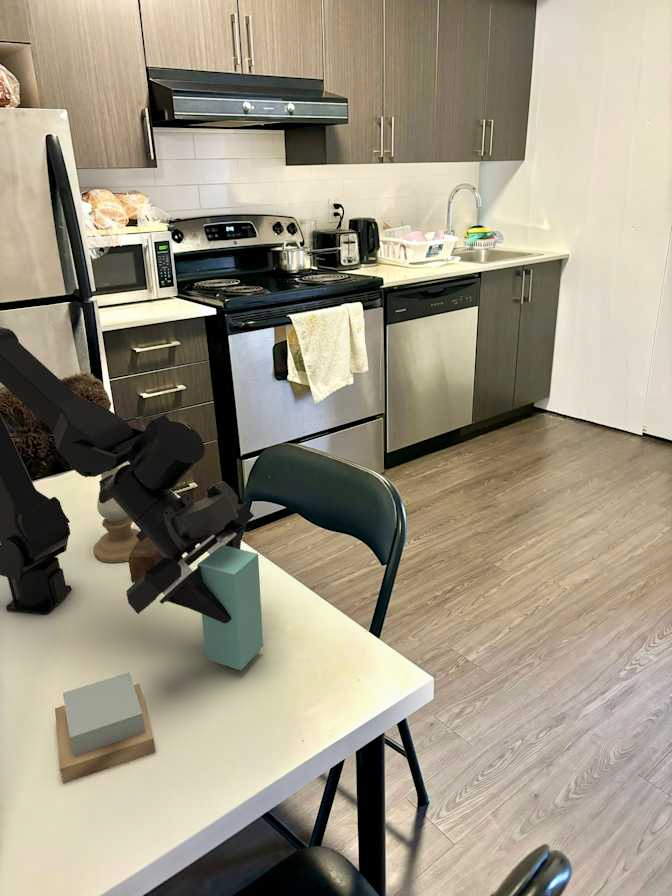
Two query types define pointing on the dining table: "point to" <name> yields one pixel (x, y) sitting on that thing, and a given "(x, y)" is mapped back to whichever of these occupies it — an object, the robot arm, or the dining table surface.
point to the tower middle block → (103, 713)
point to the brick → (143, 558)
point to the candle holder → (115, 531)
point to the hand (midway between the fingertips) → (241, 608)
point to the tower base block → (104, 755)
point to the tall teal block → (233, 606)
